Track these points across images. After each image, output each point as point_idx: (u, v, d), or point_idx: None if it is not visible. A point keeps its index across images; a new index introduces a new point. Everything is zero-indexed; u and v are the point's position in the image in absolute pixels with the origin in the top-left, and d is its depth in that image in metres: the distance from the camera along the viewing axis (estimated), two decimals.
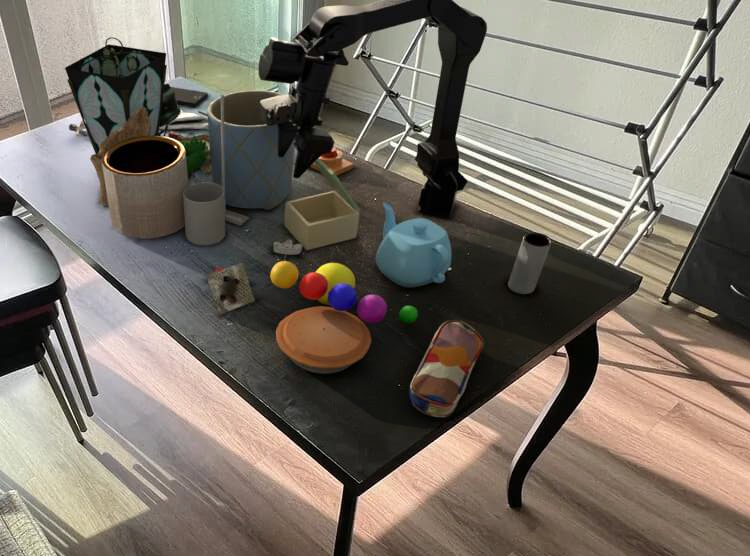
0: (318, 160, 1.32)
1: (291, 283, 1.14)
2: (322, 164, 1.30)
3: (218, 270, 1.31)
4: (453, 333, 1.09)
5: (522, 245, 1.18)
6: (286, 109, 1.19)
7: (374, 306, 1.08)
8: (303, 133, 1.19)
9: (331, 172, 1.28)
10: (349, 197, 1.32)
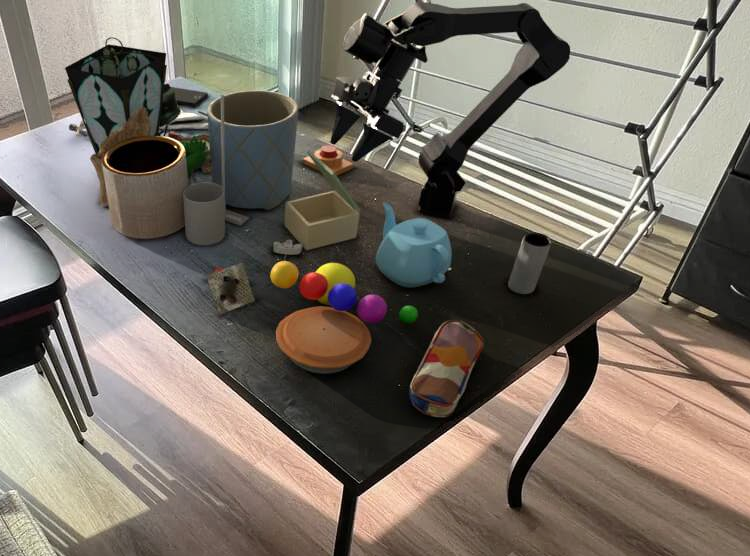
0: (318, 160, 1.32)
1: (291, 283, 1.14)
2: (322, 164, 1.30)
3: (218, 270, 1.31)
4: (453, 333, 1.09)
5: (522, 245, 1.18)
6: (367, 86, 1.21)
7: (374, 306, 1.08)
8: (379, 113, 1.21)
9: (331, 172, 1.28)
10: (349, 197, 1.32)
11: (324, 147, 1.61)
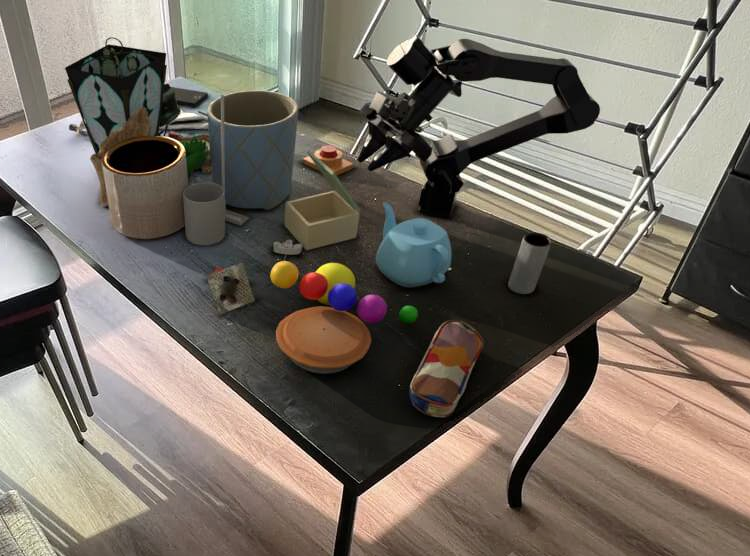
0: (318, 160, 1.32)
1: (291, 283, 1.14)
2: (322, 164, 1.30)
3: (218, 270, 1.31)
4: (453, 333, 1.09)
5: (522, 245, 1.18)
6: (407, 105, 1.24)
7: (374, 306, 1.08)
8: (413, 133, 1.25)
9: (331, 172, 1.28)
10: (349, 197, 1.32)
11: (324, 147, 1.61)
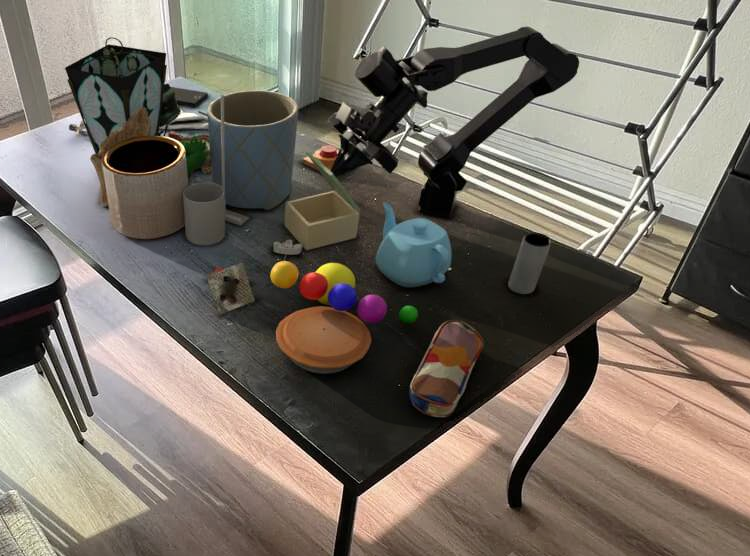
0: (317, 161, 1.32)
1: (291, 283, 1.14)
2: (321, 165, 1.30)
3: (218, 270, 1.31)
4: (453, 333, 1.09)
5: (522, 245, 1.18)
6: (372, 117, 1.23)
7: (374, 306, 1.08)
8: (378, 145, 1.24)
9: (330, 173, 1.28)
10: (349, 197, 1.32)
11: (324, 147, 1.61)
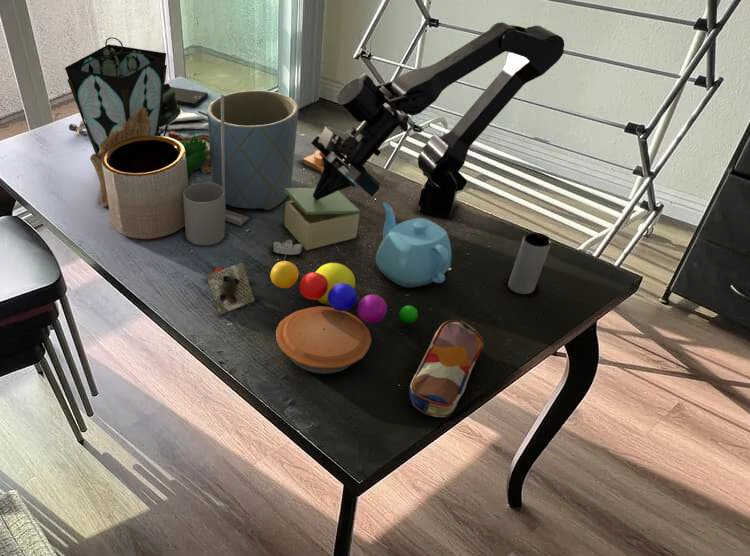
0: (293, 199, 1.35)
1: (291, 283, 1.14)
2: (297, 203, 1.34)
3: (217, 270, 1.31)
4: (453, 333, 1.09)
5: (522, 245, 1.18)
6: (353, 141, 1.25)
7: (374, 306, 1.08)
8: (360, 169, 1.26)
9: (305, 211, 1.32)
10: (339, 212, 1.34)
11: None
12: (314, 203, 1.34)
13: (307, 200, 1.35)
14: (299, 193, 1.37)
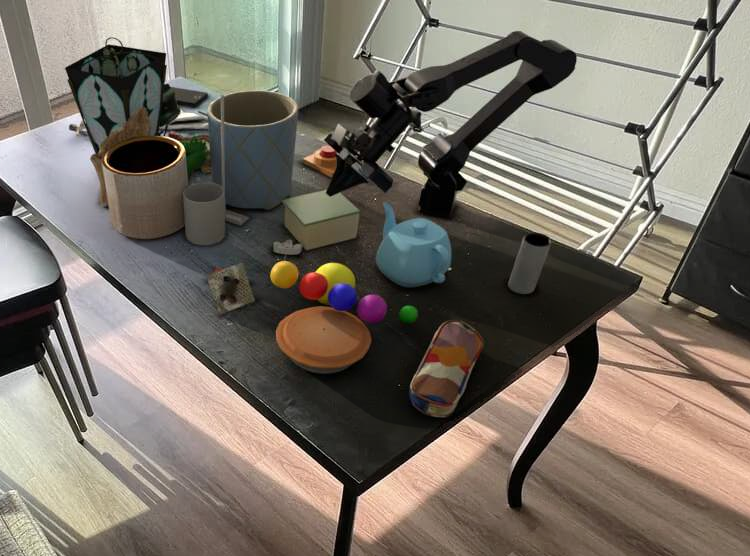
0: (291, 211, 1.37)
1: (291, 283, 1.14)
2: (295, 215, 1.36)
3: (217, 271, 1.31)
4: (453, 333, 1.09)
5: (522, 245, 1.18)
6: (367, 138, 1.26)
7: (374, 306, 1.08)
8: (373, 165, 1.26)
9: (303, 224, 1.34)
10: (338, 217, 1.35)
11: (324, 147, 1.61)
12: (312, 213, 1.36)
13: (304, 210, 1.37)
14: (297, 203, 1.39)
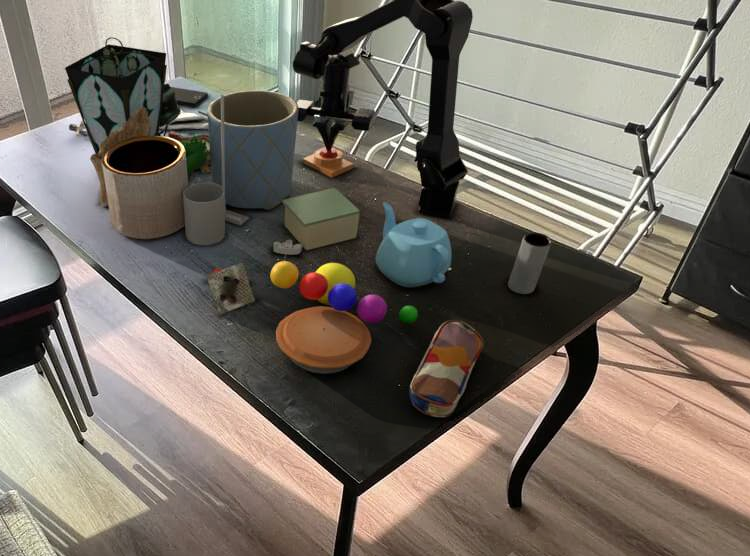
0: (291, 211, 1.37)
1: (291, 283, 1.14)
2: (295, 215, 1.36)
3: (217, 271, 1.30)
4: (453, 333, 1.09)
5: (522, 245, 1.18)
6: None
7: (374, 306, 1.08)
8: None
9: (303, 224, 1.34)
10: (338, 217, 1.35)
11: (324, 148, 1.61)
12: (312, 213, 1.36)
13: (304, 210, 1.37)
14: (297, 203, 1.39)
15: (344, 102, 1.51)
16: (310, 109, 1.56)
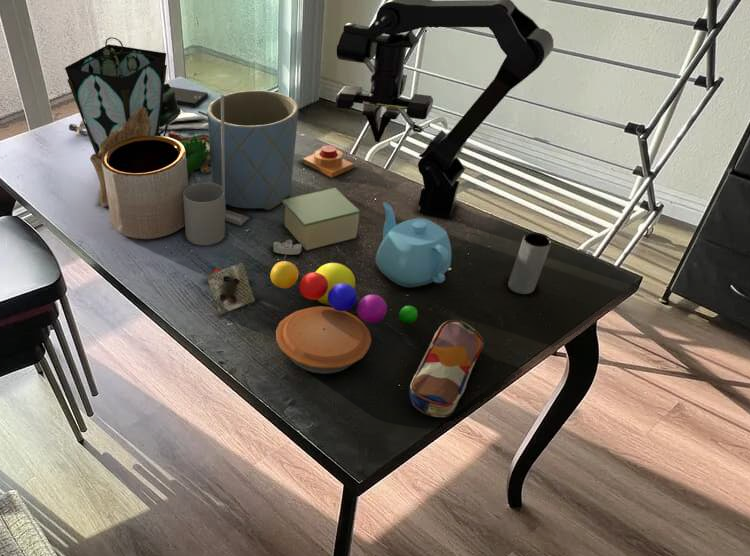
0: (291, 211, 1.37)
1: (291, 283, 1.14)
2: (295, 215, 1.36)
3: (216, 271, 1.31)
4: (453, 333, 1.09)
5: (522, 245, 1.18)
6: None
7: (374, 306, 1.08)
8: None
9: (303, 224, 1.34)
10: (338, 217, 1.35)
11: (324, 147, 1.61)
12: (312, 213, 1.36)
13: (304, 210, 1.37)
14: (297, 203, 1.39)
15: (398, 87, 1.35)
16: (358, 95, 1.40)
